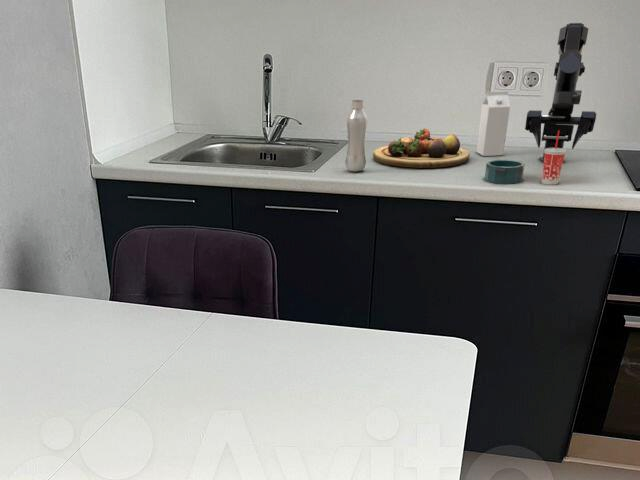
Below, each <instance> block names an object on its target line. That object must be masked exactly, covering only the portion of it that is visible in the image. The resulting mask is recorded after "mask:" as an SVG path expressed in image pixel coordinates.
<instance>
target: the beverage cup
mask: <svg viewBox="0 0 640 480" xmlns="http://www.w3.org/2000/svg"><path fill="white" fill-rule="evenodd" d="M559 132H560V130H558V134H557V136H556V137H557V139H556V145H555V148H546V149H544V148H543V154H544V153H545V156H544V162H543V166H542V175H541V184H543V185H550V186H551V185H558V183H559V180H560V175H561V173H562V172H561V171H562V168H563V164H564V162H563V160H564V161H565V156H566V154H567V149H566V148H564V147H563V148H557V144H558V138H559Z"/></svg>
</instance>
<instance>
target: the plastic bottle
mask: <svg viewBox="0 0 640 480" xmlns="http://www.w3.org/2000/svg"><path fill="white" fill-rule="evenodd" d="M350 108H351V110H350V112H349V113H348V115H347V118H346V130H347V147H346V149H347V150H346V156H345V169H346V170H347V171H350V172H355V173H356V172H360V171H364V169H365V168H366V165H367V159H366V147H365V143H366V142H365V141H366V131H367V127H368V126H367V125H368V117H367V114H366V113H365V111H364V109H363V108H365V106H364V100H363V99H354V100H351V107H350Z"/></svg>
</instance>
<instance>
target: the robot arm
mask: <svg viewBox="0 0 640 480" xmlns="http://www.w3.org/2000/svg"><path fill="white" fill-rule="evenodd" d="M588 34H589V28H588V27H587V26H585V23H582V22H569V23H567V24H566V25H565V26H562V27H561V28H559V33H558V38H557V45H556V46H559V47H558V57H559V58H558V62H555V65H554V72H553V77H555V81H556V83H555V84H554V85H555V86H554V92H553V98H552V103H551V108H550V109H549V112H548V114H547V115H544V114H543V115H542V113H543V110H541V109H539V110H538V109H529V110H528V111H527V113H526V119H525V127H524V130H525V131H527V132H528V131H529V133H530V134H532V135H533V137H534V139H535V141H536V145H537V148H539V149H540V148H541V142H544V148H543V150H544V149H546V148H555V145H556V139H557V134H558V130H560V132H559V138H558V144H557V148H563V149H564V145H565V142H567V143H569V142H571V141H572V137H573V133H574V127H575V126H577V128H576V132H575V134H574V138H573V142H572V145H571V150H574V149H575V147H576V145H577V143H578V142H579V141H580V140H581V138H582V137H583V135H587V134H588V133H592V132H593V131H594V127H595V124H596V120H597V112H596V111H595V110H594V111H591V110H590V111H589V110H588V111H587V110H581V114H580V116H572V114H573V112H574V106H575V105H580V102H581V98H582V91H583V90H580V89H579V90H578V89H577V83H578V81H579V77H582V76H583V73H585V71H586V67H585V65H584V62H582V59H583V55H582V52H583V47H584V46H585V45H586V44H587V39H588ZM542 124H543V130H542ZM544 156H545V153H544V152H543V154H542V156H540V157H539V160H540V161H541V162H543V163H544ZM563 163H565V159H564V160H563Z"/></svg>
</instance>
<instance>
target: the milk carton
mask: <svg viewBox="0 0 640 480" xmlns="http://www.w3.org/2000/svg"><path fill="white" fill-rule="evenodd" d="M510 109H511V104H510V98H509V91H506V90H504V91H487V92H486V96H485V97H484V100H483V102H482V104H481V111H480V120H479V127H478V137H477V138H478V139H477V145H476V153H477V154H479V155H481V156H482V157H490V156H491V157H492V156H493V157H495V156H504V153H505V143H506V138H507V130H508V124H509V122H508V121H509V117H510Z"/></svg>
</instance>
